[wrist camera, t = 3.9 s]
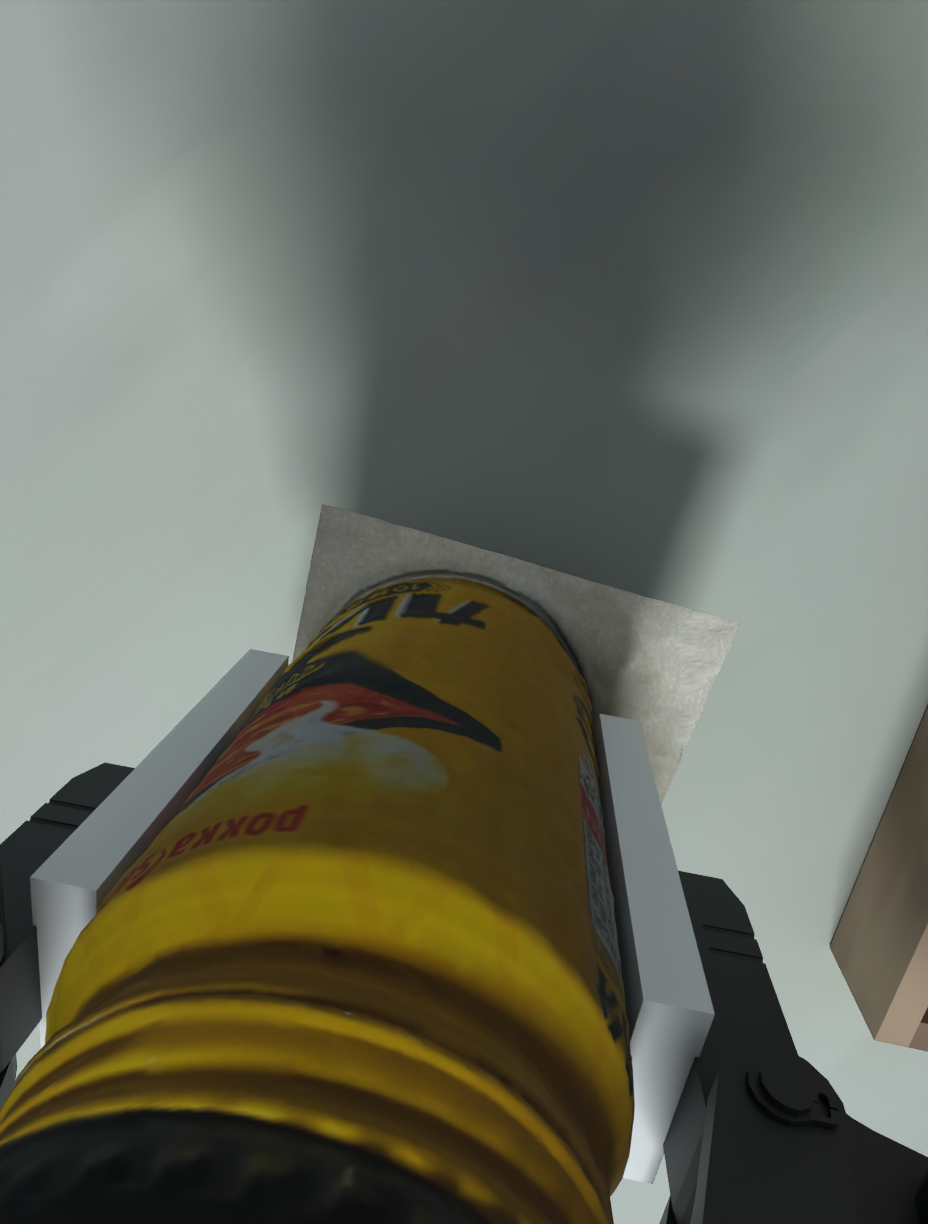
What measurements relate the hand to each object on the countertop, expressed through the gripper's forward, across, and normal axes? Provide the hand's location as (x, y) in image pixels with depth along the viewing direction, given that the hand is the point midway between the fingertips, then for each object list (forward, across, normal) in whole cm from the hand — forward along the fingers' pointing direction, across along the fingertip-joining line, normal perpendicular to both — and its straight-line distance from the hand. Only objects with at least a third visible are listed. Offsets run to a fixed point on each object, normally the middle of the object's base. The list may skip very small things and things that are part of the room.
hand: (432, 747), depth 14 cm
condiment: (+2, +1, 0) cm, 2 cm away
